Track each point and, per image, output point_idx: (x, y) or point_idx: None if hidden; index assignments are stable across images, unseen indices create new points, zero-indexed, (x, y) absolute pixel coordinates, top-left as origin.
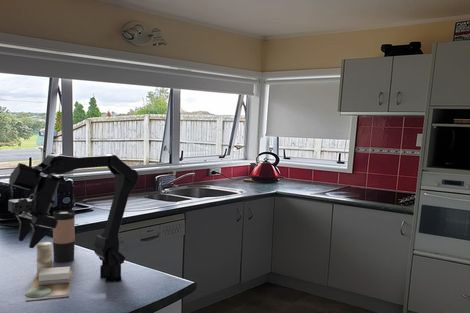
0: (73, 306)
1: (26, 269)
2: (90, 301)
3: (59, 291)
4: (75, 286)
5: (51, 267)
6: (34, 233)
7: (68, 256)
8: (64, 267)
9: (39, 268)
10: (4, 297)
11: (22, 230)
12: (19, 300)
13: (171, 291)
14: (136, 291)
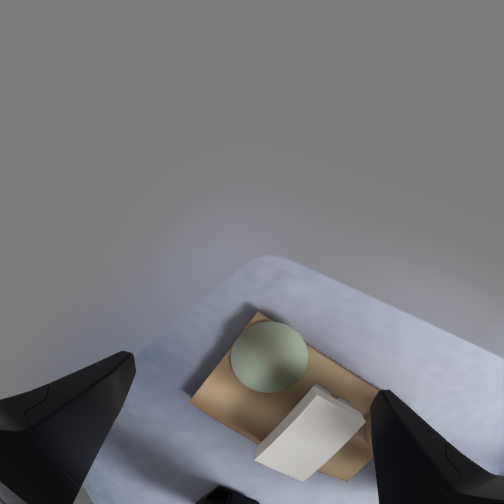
0: (136, 371)
1: (460, 397)
2: (135, 409)
3: (227, 399)
4: (253, 446)
5: (368, 447)
6: (17, 398)
7: None
8: (310, 469)
9: None
10: (341, 283)
11: (408, 455)
12: (285, 303)
13: (89, 490)
14: (123, 478)
